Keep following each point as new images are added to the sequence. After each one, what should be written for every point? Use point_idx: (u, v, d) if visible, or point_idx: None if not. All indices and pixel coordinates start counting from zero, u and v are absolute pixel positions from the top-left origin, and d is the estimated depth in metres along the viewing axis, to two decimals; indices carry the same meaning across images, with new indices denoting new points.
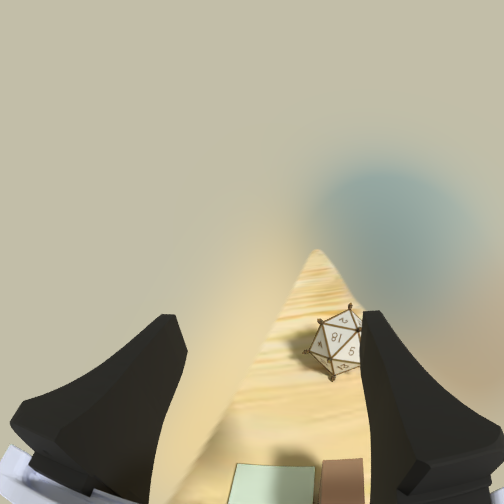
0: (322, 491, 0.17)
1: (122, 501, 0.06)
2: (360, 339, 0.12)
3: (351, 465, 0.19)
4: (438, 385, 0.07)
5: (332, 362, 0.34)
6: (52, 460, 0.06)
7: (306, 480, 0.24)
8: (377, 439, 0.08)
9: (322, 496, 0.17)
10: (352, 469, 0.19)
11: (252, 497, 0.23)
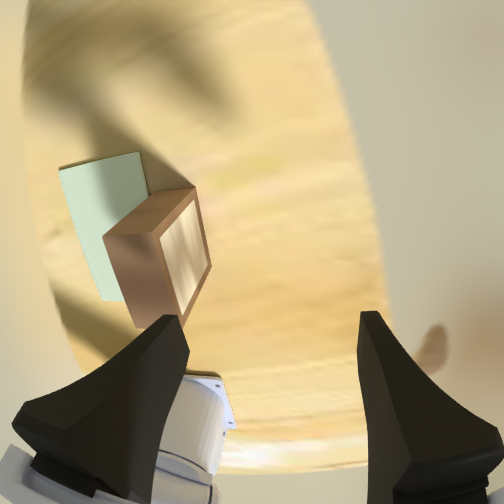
0: None
1: (122, 501, 0.06)
2: (358, 339, 0.12)
3: (139, 244, 0.15)
4: (435, 386, 0.07)
5: None
6: (54, 461, 0.06)
7: (133, 176, 0.21)
8: (374, 439, 0.08)
9: (121, 289, 0.17)
10: (142, 251, 0.15)
11: (89, 213, 0.22)
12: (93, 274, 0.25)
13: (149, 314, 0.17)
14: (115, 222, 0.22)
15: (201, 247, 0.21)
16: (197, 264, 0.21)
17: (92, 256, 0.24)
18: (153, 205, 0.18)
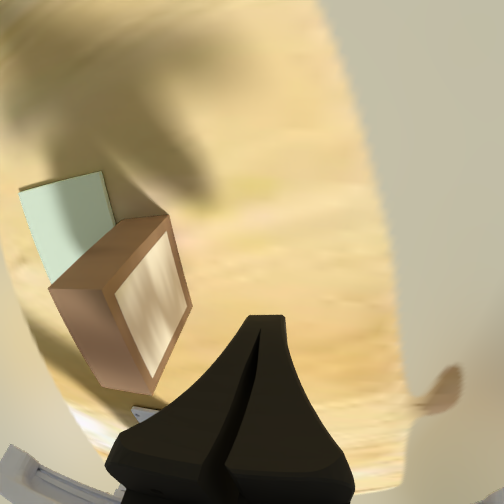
0: None
1: None
2: None
3: (90, 302, 0.11)
4: (301, 396, 0.07)
5: None
6: (155, 497, 0.06)
7: (96, 201, 0.17)
8: None
9: (79, 347, 0.13)
10: (94, 311, 0.11)
11: (53, 242, 0.18)
12: None
13: (113, 376, 0.13)
14: (81, 253, 0.18)
15: (178, 288, 0.17)
16: (172, 310, 0.17)
17: None
18: (114, 242, 0.14)
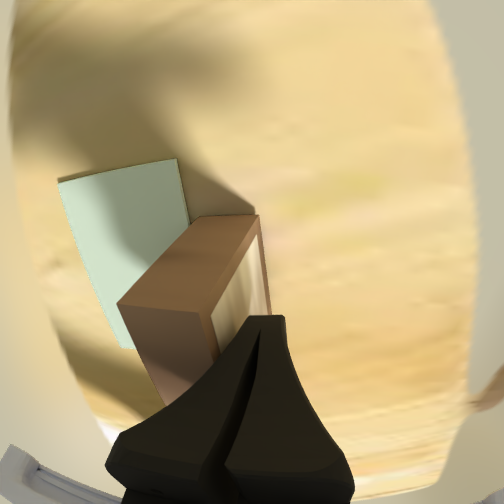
0: None
1: None
2: None
3: (177, 326, 0.09)
4: (301, 396, 0.07)
5: None
6: (156, 497, 0.06)
7: (167, 194, 0.15)
8: None
9: (149, 372, 0.11)
10: (182, 336, 0.09)
11: (102, 242, 0.17)
12: (108, 317, 0.20)
13: None
14: (139, 256, 0.17)
15: (263, 299, 0.15)
16: None
17: (106, 296, 0.19)
18: (197, 245, 0.13)
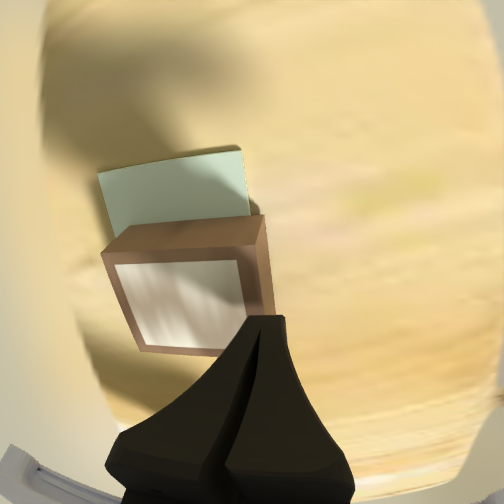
0: None
1: None
2: None
3: None
4: (301, 396, 0.07)
5: None
6: (155, 497, 0.06)
7: (230, 187, 0.14)
8: None
9: None
10: None
11: None
12: None
13: None
14: None
15: (238, 325, 0.14)
16: (212, 332, 0.15)
17: None
18: (192, 230, 0.14)
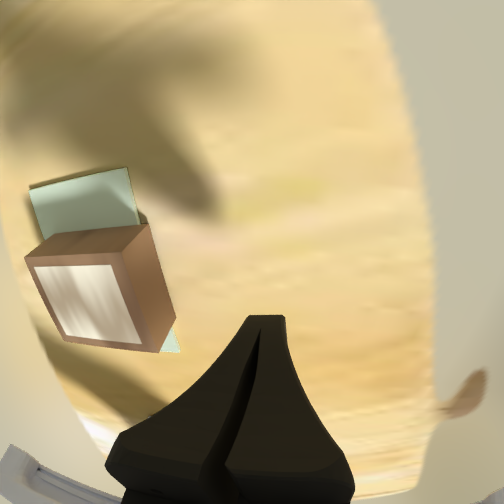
0: None
1: None
2: None
3: None
4: (301, 396, 0.07)
5: None
6: (155, 497, 0.06)
7: (119, 201, 0.15)
8: None
9: None
10: None
11: None
12: None
13: None
14: None
15: (125, 321, 0.15)
16: (108, 327, 0.16)
17: None
18: (90, 238, 0.15)
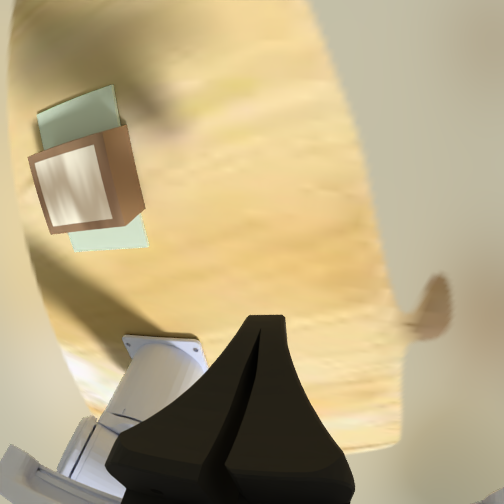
0: None
1: None
2: None
3: None
4: (301, 396, 0.07)
5: None
6: (155, 497, 0.06)
7: (106, 109, 0.18)
8: None
9: None
10: None
11: None
12: None
13: None
14: None
15: (100, 196, 0.18)
16: (87, 206, 0.19)
17: None
18: (81, 137, 0.18)
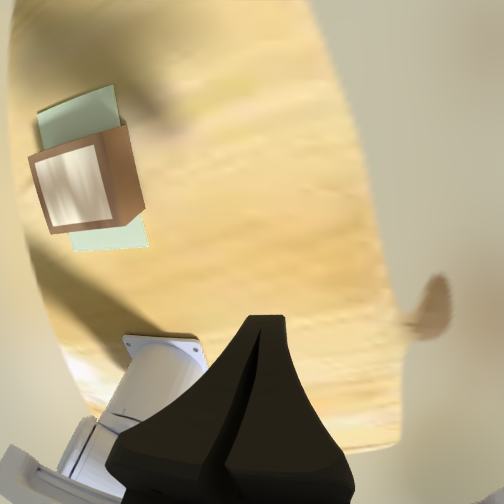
0: None
1: None
2: None
3: None
4: (301, 396, 0.07)
5: None
6: (155, 497, 0.06)
7: (106, 109, 0.18)
8: None
9: None
10: None
11: None
12: None
13: None
14: None
15: (100, 196, 0.18)
16: (87, 206, 0.19)
17: None
18: (81, 137, 0.18)
